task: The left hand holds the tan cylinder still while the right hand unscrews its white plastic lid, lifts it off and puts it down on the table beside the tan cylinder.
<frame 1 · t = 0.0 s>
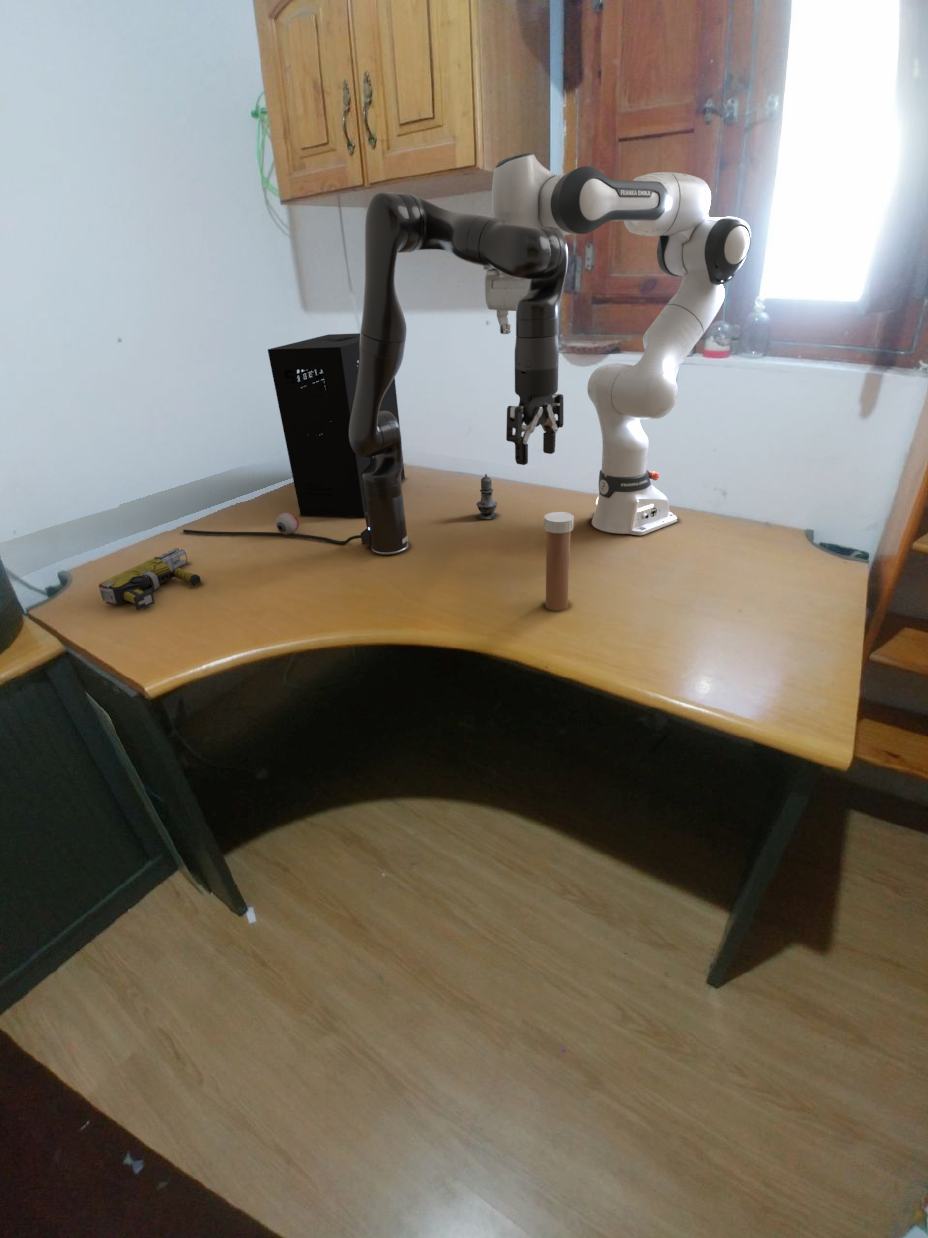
left hand: (535, 458, 112), 29 cm above the table, tool pointing down, fingers open, 8 cm apart
right hand: (516, 335, 125), 48 cm above the table, tool pointing down, fingers open, 8 cm apart
tan cylinder: (556, 605, 123), on the table
eyeball: (289, 534, 165), on the table
cardboard box: (356, 495, 191), on the table
grey stone chess piece: (487, 516, 169), on the table
lid: (559, 518, 114), point 19 cm above the table, screwed on, not yet turned
toy gun: (166, 587, 140), on the table
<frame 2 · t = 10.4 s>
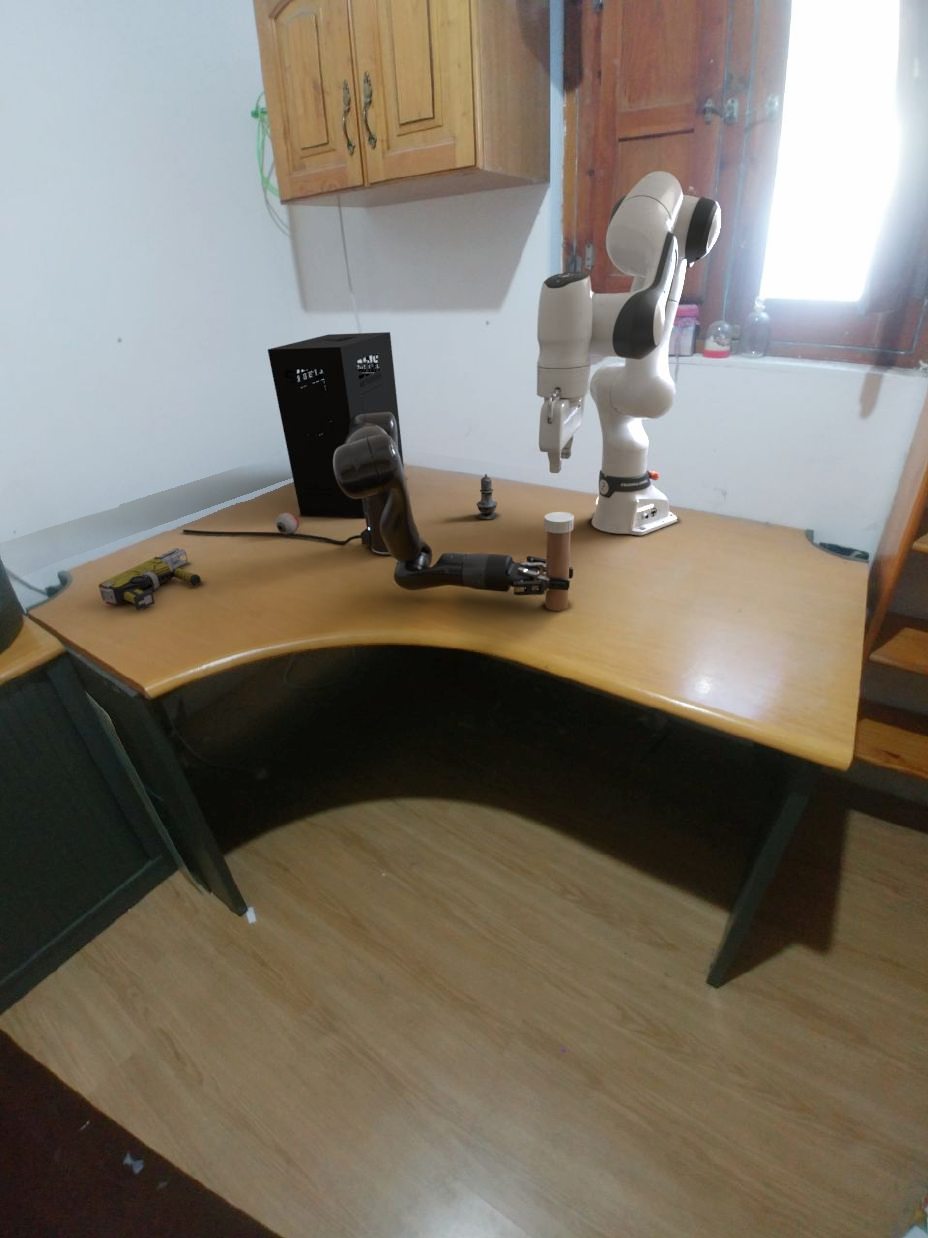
left hand: (570, 578, 119), 6 cm above the table, tool horizontal, fingers closed on tan cylinder, 4 cm apart
right hand: (560, 464, 109), 29 cm above the table, tool pointing down, fingers open, 8 cm apart
tan cylinder: (556, 605, 123), on the table, touching left hand
everything else where it was.
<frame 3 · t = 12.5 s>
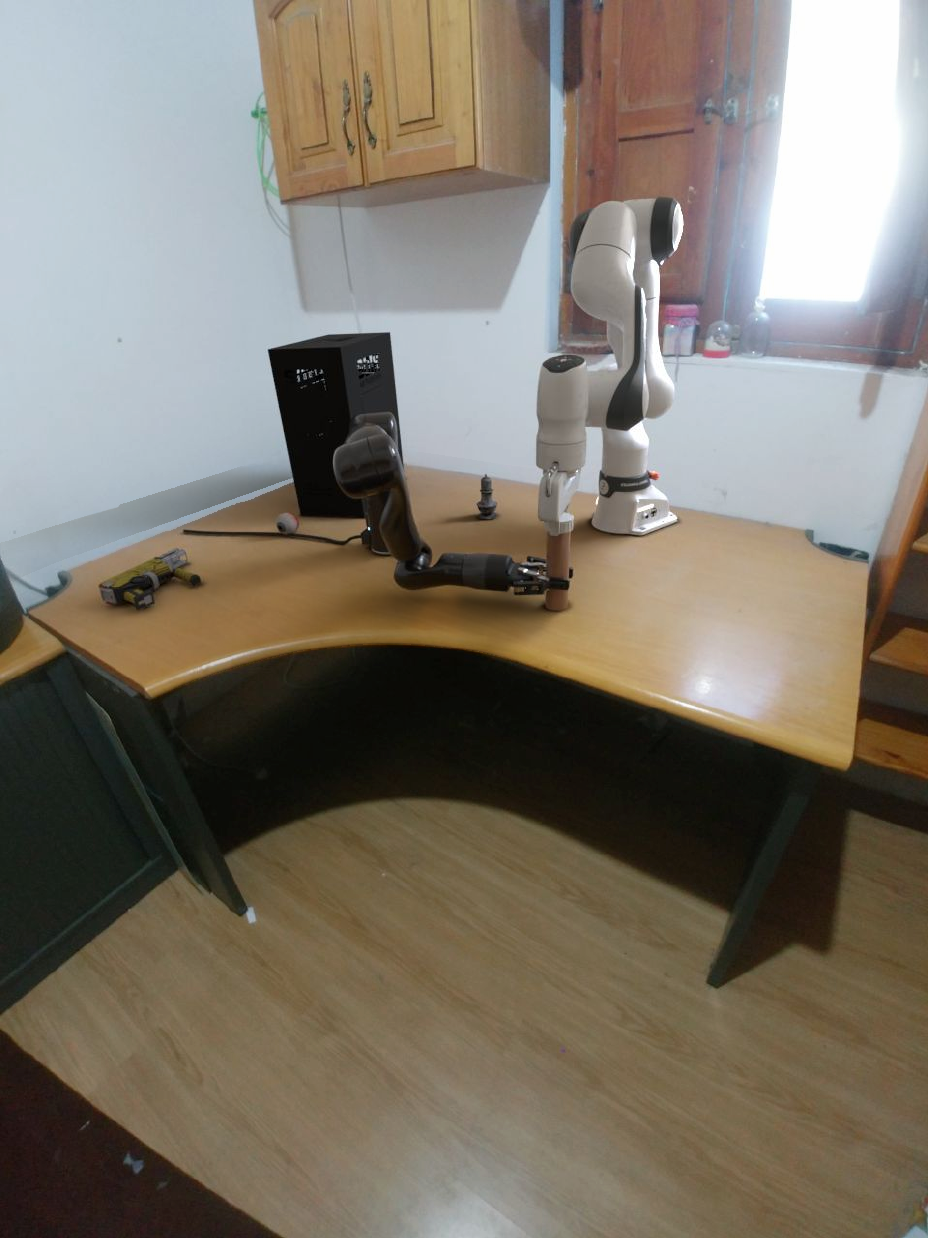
left hand: (570, 578, 119), 6 cm above the table, tool horizontal, fingers closed on tan cylinder, 4 cm apart
right hand: (558, 527, 115), 17 cm above the table, tool pointing down, fingers closed on lid, 5 cm apart
tan cylinder: (556, 605, 123), on the table, touching left hand
lid: (559, 518, 114), point 19 cm above the table, screwed on, not yet turned, touching right hand
everything else where it was.
when the right hand's fingers open (17 cm above the table, at t = 13.7 s): lid stays where it is, point 19 cm above the table.
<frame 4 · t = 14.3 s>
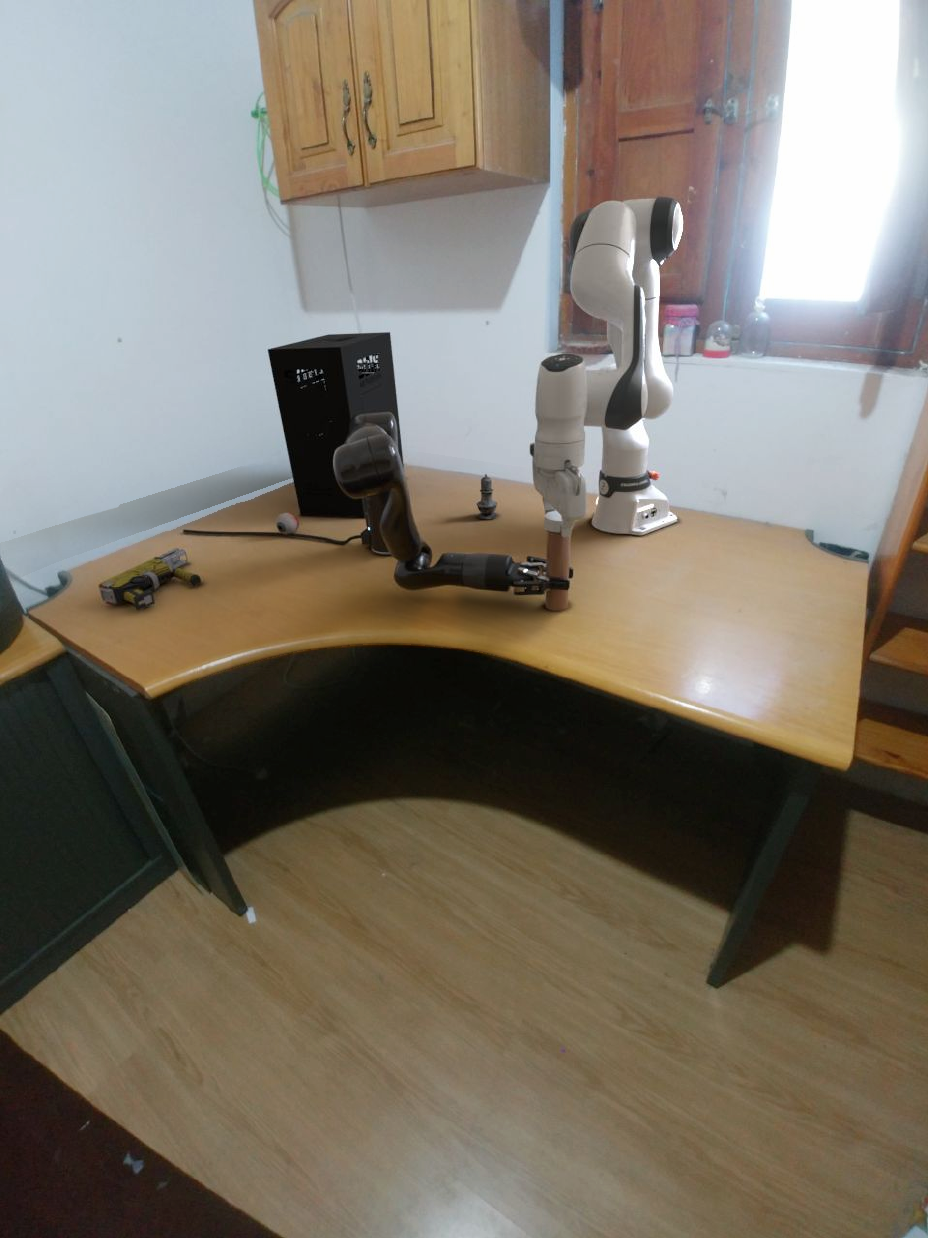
left hand: (570, 578, 119), 6 cm above the table, tool horizontal, fingers closed on tan cylinder, 4 cm apart
right hand: (557, 526, 115), 17 cm above the table, tool pointing down, fingers open, 8 cm apart
tan cylinder: (556, 605, 123), on the table, touching left hand
lid: (559, 517, 114), point 19 cm above the table, turned 71° so far, risen 0.2 cm, still on its thread
everything else where it was.
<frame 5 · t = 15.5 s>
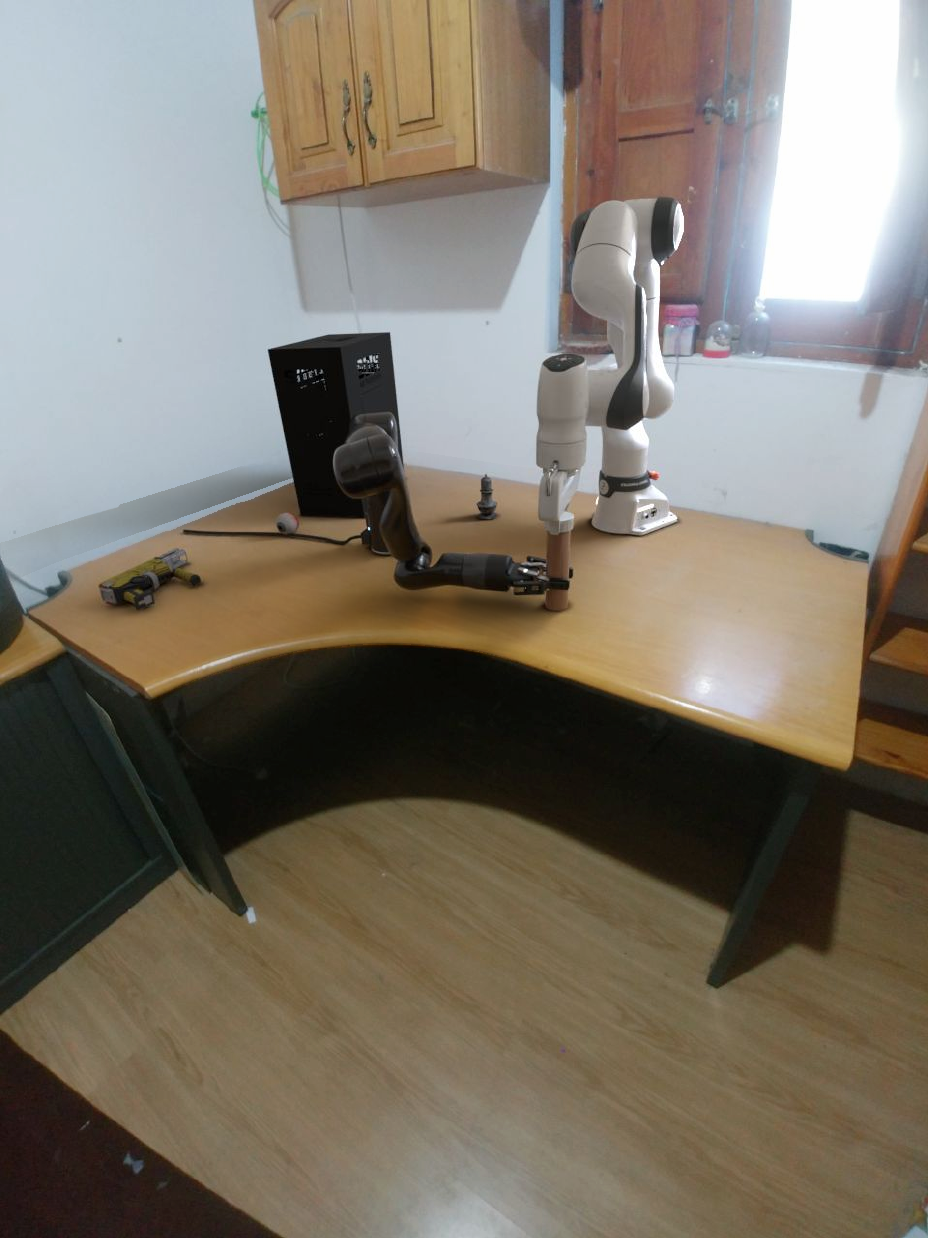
left hand: (570, 578, 119), 6 cm above the table, tool horizontal, fingers closed on tan cylinder, 4 cm apart
right hand: (558, 526, 115), 17 cm above the table, tool pointing down, fingers closed on lid, 5 cm apart
tan cylinder: (556, 605, 123), on the table, touching left hand
lid: (559, 517, 114), point 19 cm above the table, turned 71° so far, risen 0.2 cm, still on its thread, touching right hand
everything else where it was.
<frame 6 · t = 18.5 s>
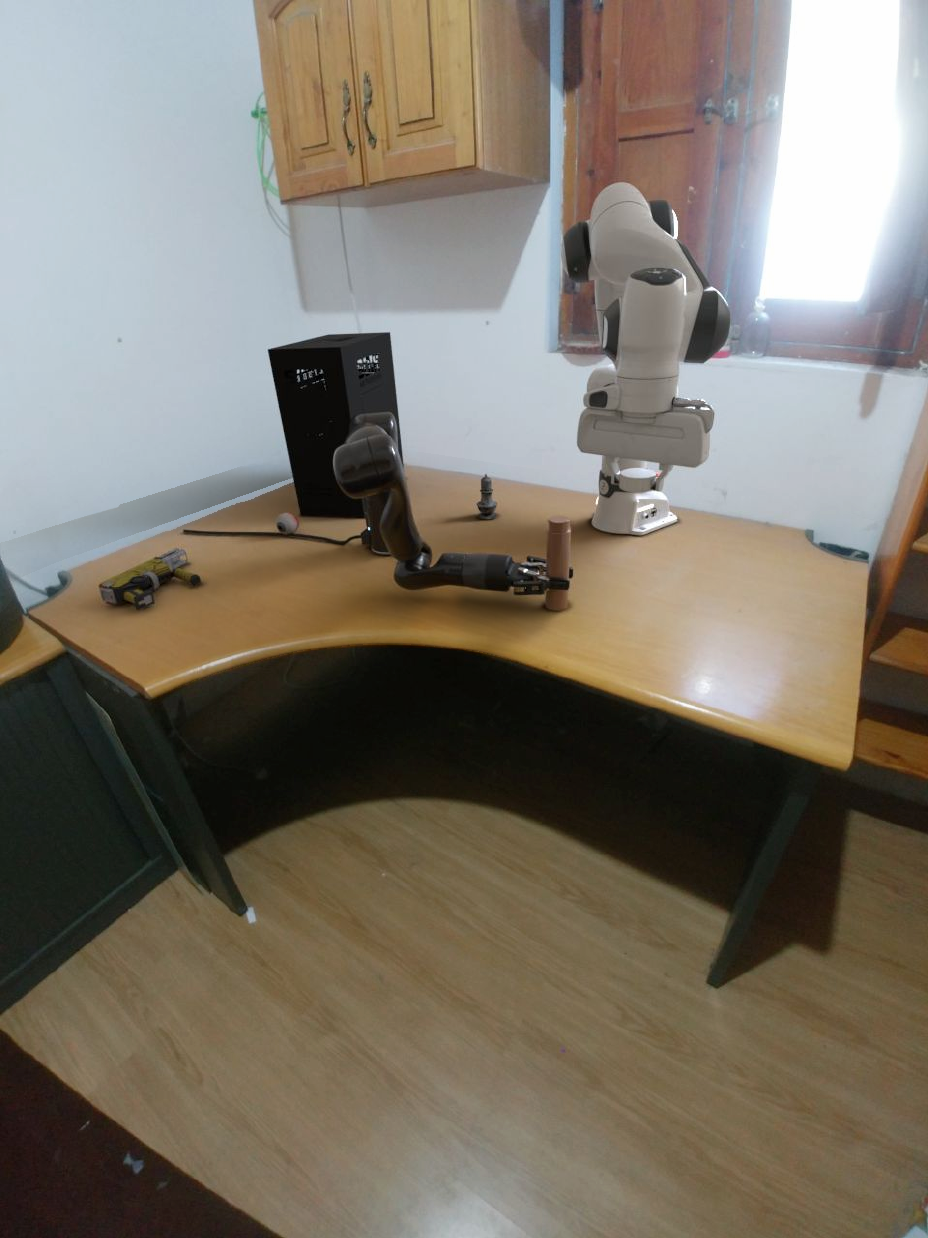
left hand: (570, 578, 119), 6 cm above the table, tool horizontal, fingers closed on tan cylinder, 4 cm apart
right hand: (636, 486, 96), 29 cm above the table, tool pointing down, fingers closed on lid, 5 cm apart
tan cylinder: (556, 605, 123), on the table, touching left hand
lid: (638, 475, 95), point 31 cm above the table, off its thread, touching right hand
everything else where it was.
when the right hand's fingers open (2 cm above the table, at t = 21.6 s): lid drops 2 cm, point 2 cm above the table.
when the left hand's fingers open (6 cm above the table, at t = 22.7 s): tan cylinder stays where it is, on the table.
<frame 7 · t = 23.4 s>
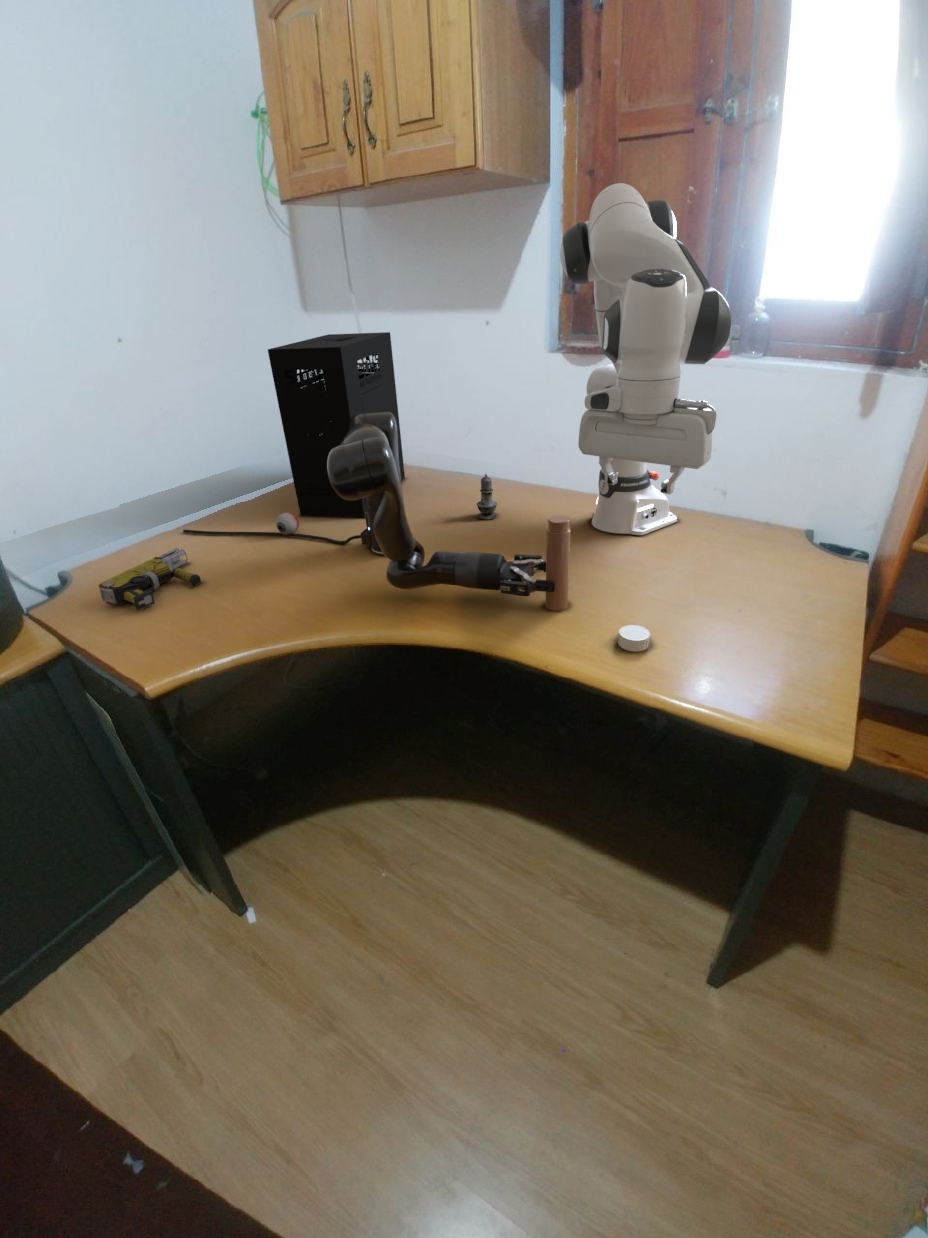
left hand: (558, 577, 120), 6 cm above the table, tool horizontal, fingers open, 8 cm apart
right hand: (638, 488, 96), 29 cm above the table, tool pointing down, fingers open, 8 cm apart
tan cylinder: (556, 605, 123), on the table
lid: (634, 634, 108), point 2 cm above the table, off its thread
everything else where it was.
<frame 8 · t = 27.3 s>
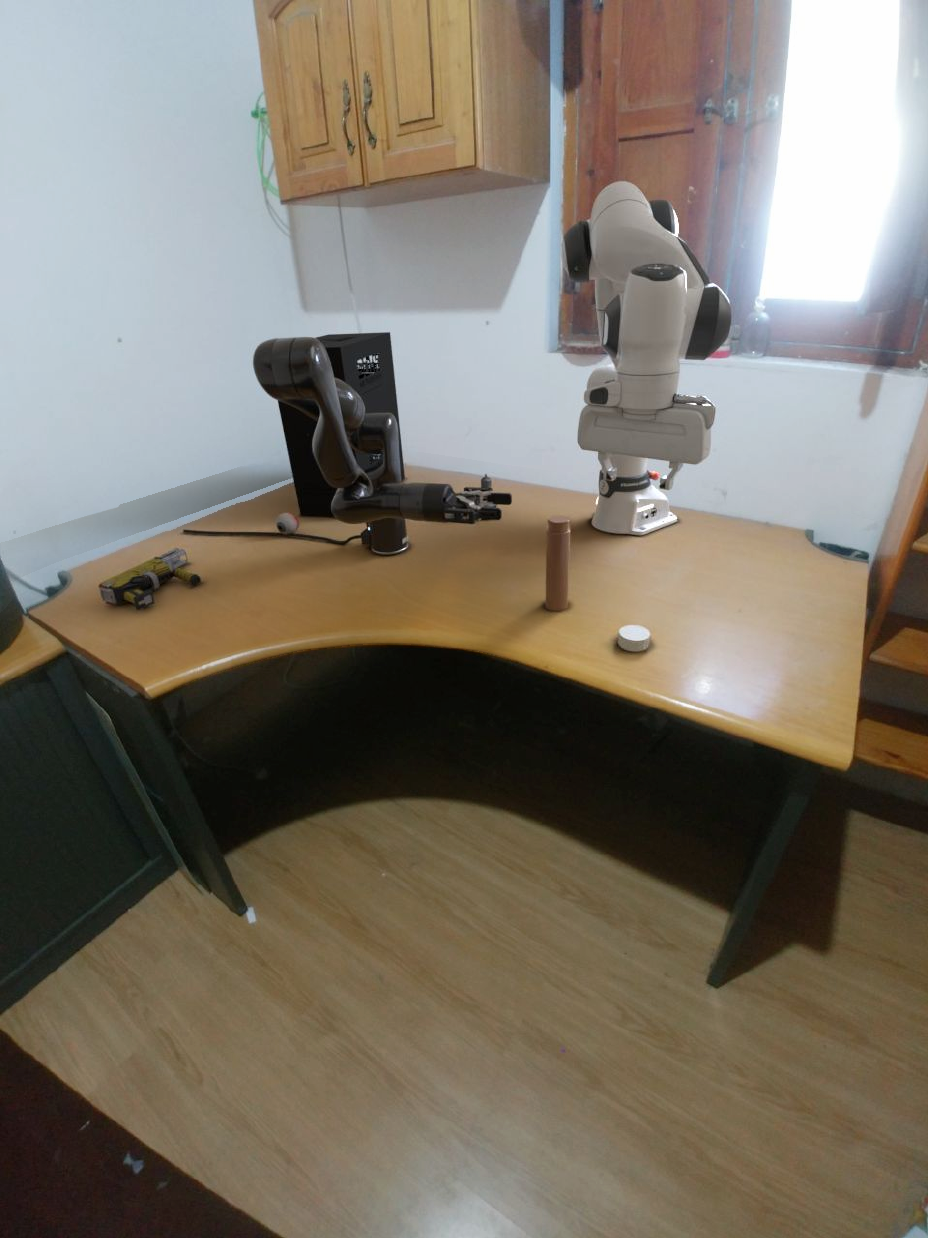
left hand: (506, 506, 115), 21 cm above the table, tool horizontal, fingers open, 8 cm apart
right hand: (636, 483, 95), 30 cm above the table, tool pointing down, fingers open, 8 cm apart
nothing on the table moved.
at the end: lid came off its thread; lid point 1.9 cm above the table; the left hand is holding nothing; the right hand is holding nothing; tan cylinder tilted 0°; tan cylinder moved 0.0 cm from its start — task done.
